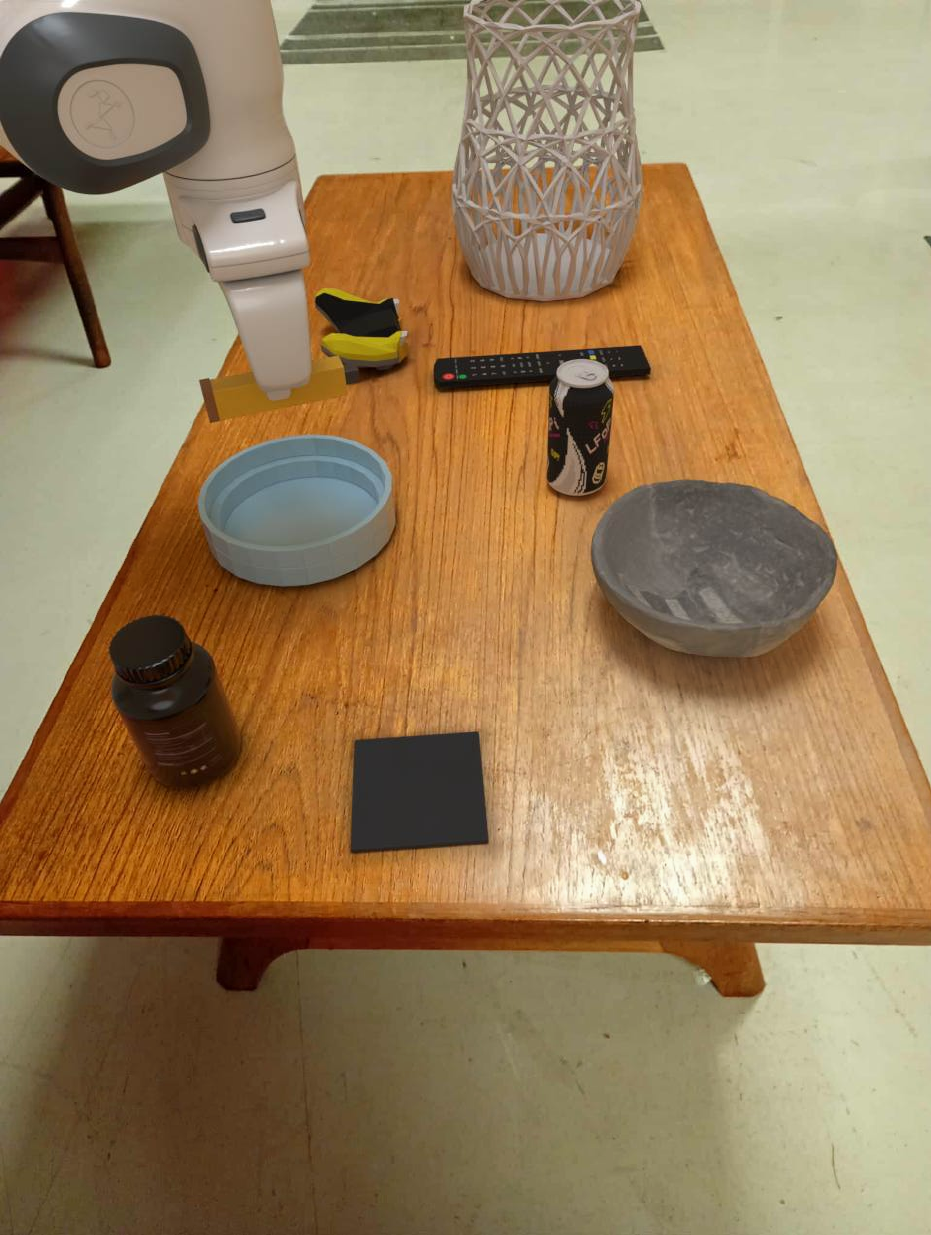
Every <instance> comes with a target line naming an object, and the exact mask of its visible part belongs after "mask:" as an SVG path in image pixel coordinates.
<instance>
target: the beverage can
mask: <svg viewBox="0 0 931 1235" xmlns="http://www.w3.org/2000/svg"><path fill="white" fill-rule="evenodd" d="M608 376H609V371H608V369H607V368H606V366H604V365H603V364H601V363H599V362H597V361H593V360H587V359H577V360H571V361H567V362H565V363H563V364H562V365H560V366H559V367H558V369H557V375H556V376H555V378H554V379H553V380H552V381H550V384H549V388H548V410H547V412H548V415H547V441H546V442H547V444H546V445H547V448H546V474H545V476H546V477H545V478H546V481H547V483H548V485H549V486H550V487H551V488H552V489H554V490H555V491H556V492H559V493H560V494H564V495H566V496H572V497H583V496H586V495H591V494H593V493H596V492H597V491H599V490H601V489H602V488H603V487H604V486H605V484H606V481H607V475H608V464H609V454H610V444H611V431H612V421H613V420H612V419H613V411H614V410H613V408H614V400H615V399H614V398H615V386H614V382H613V381H612V379H610V378H611V377H608Z"/></svg>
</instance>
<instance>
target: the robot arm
mask: <svg viewBox="0 0 931 1235" xmlns="http://www.w3.org/2000/svg"><path fill="white" fill-rule="evenodd" d="M282 58H283V57H282V52H281V45H280V41H279V36H278V30H277V24H276V19H275V14H274V10H273V5H272V1H271V0H0V146H1V147H2V148H3V149H5V151H7V152H8V153H9V154H10V155H12V156H13V157H14V158H16V160H18V161H19V162H20V163H21V164H23V165H24V166H26V167H27V168H28V169H29V170H30V171H32V172H33V173H35V174H36V175H37V176H39V177H40V178H42V179H44V180H45V181H46V182H49V183H51V184H52V185H54V186H56V187H58V188H60V189H63V190H66V191H68V192H71V193H76V194H80V195H88V196H99V195H108V194H113V193H117V192H120V191H122V190H125V189H127V188H131V187H133V186H135V185H137V184H140V183H143V182H145V181H147V180H149V179H152V178H154V177H156V176H158V175H161V174H162V177H163V181H164V185H165V189H166V193H167V197H168V201H169V204H170V208H171V212H172V216H173V221H174V225H175V229H176V233H177V236H178V238H179V240H180V242H182V243H183V244H184V245H185V246H187V247H188V248H190V249H191V250H192V251H193V253H194V254H195V255H196V256H197V257H198V258H199V259H200V261H201V262H202V264H203V266H204V267H205V270H206V272H207V273H208V274H209V276H210V279H211V281H212V282H214V283H217V284H218V286H219V288H220V290H221V292H222V294H223V296H224V298H225V301H226V303H227V305H228V308H229V311H230V313H231V316H232V319H233V322H234V325H235V327H236V330H237V333H238V336H239V339H240V342H241V345H242V348H243V351H244V353H245V356H246V359H247V362H248V364H249V367H250V370H251V372H252V373H253V375H254V378H255V380H256V382H257V385H258V386H259V388H260V389H261V390H262V391H263V392H266V394H267V397H268V398H269V400H272V401H276V400H281V399H286V398H288V397H289V396H290V393H291V392H290V389H291V388H296V387H300V386H304V385H306V384H308V383H309V381H310V378H311V371H312V360H313V359H312V358H313V357H312V346H311V345H312V344H311V333H310V332H311V331H310V320H309V309H308V297H307V290H306V282H305V275H304V271H303V269H307V268H309V267H310V266H311V263H312V259H311V252H310V251H311V250H310V245H309V239H308V235H307V231H306V225H307V216H306V215H307V214H306V209H305V203H304V196H303V191H302V183H301V177H300V176H301V175H300V170H299V169H300V168H299V162H298V157H297V150H296V144H295V140H294V139H293V136H292V133H291V131H290V129H289V126H288V124H287V121H286V117H285V111H284V104H283V103H284V101H283V100H284V88H285V71H284V65H283V64H284V63H283V59H282Z"/></svg>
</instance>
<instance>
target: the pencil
mask: <svg viewBox="0 0 931 1235" xmlns="http://www.w3.org/2000/svg"><path fill="white" fill-rule="evenodd" d="M360 378H361V377H360V370H359V368H357V366H356V364H355V363H352V364H347V365H343V364H342V362H341V360H340V358H339V356H333V357H328V356H327V357H322V358H317V359H312V371H311V378H310V381H309V383H308V384H306V385H304V386H300V387H296V388H291V389H290V392H291V393H290V396H289V397H288V398H286V399H281V400H276V401H272V400H269V398H268V397H267V394H266V392H263V391H262V390H261V389H260V388H259V386H258V385H257V382H256V380H255V378H254V375H253V373H252V371H247V372H243V373H237V374H232V375H227V376H222V377H221V376H220V377H216V378H209V377H207V378H201V379H198V383H199V387H200V391H201V394H202V395H201V396H202V399H203V402H204V406H205V410H206V414H207V416H208V421H209V424H213V423H218V422H220V421H225V420H230V419H234V418H241V417H245V416H251V415H255V414H260V413H265V412H271V411H276V410H280V409H285V408H290V407H291V408H292V407H295V406H301V405H304V404H305V405H306V404H311V403H316V402H322V401H326V400H332V399H336V398H341V397H346V396H348V395H349V392H348V386H349V385H355V384H359V383H361V379H360Z"/></svg>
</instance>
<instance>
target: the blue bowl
mask: <svg viewBox="0 0 931 1235" xmlns="http://www.w3.org/2000/svg"><path fill="white" fill-rule="evenodd" d="M196 504H197V509H198V514H199V519H200V522H201V525H202V528H203V531H204V534H205V538H206V542H207V544H208V548H209V551H210V553H211V554H212V556H213V557H214V559H215V560H216V562H217V563H218V564H219V565H220V566H221V567H222V568H223V569H225V570H227V571H228V572H229V573H231V574H233V575H234V576H235V577H237V578H240V579H243V580H246V581H249V582H251V583H254V584H256V585H257V584H258V585H267V586H274V587H275V586H276V587H299V586H308V585H309V586H310V585H313V584H318V583H323V582H326V581H330V580H334V579H337V578H339V577H341V576H344V575H346V574H348V573H350V572H353V571H355V570H358V569H359V568H360V567H361V566H363V565H364V564H366V563H367V562H369V561H370V560H371V559H373V558H374V557H376V556H377V555H378V554H379V553H380V552H381V551H382V549H384V547H385V546H386V545H387V543H388V542H389V541H390V538H391V536H392V535H393V532H394V529H395V526H396V521H397V520H396V518H397V517H396V516H397V514H396V502H395V492H394V483H393V476H392V473H391V471H390V469H389V466H388V464H387V463H386V460H384V459H383V458H382V456H380V454H378V453H377V452H376V451H375V450H373V449H372V448H370V447H368V446H366V445H364V444H362V443H360V442H359V441H356V440H352V439H349V438H346V437H345V438H344V437H341V436H336V435H326V434H299V435H298V434H297V435H288V436H284V437H278V438H274V439H269V440H266V441H263V442H260V443H257V444H254V445H251V446H249V447H246V448H244V449H242V450H240V451H238V452H237V453H235V454H233V455H231V456H230V457H228V458H226V459H225V460H224V461H223V462H221V463H220V464H219V465H218V466H217V467H215V468H214V469H213V470H212V471H211V472H210V474H209V475H208V476H207V478H206V479H205V481H204V482H203V484H202V485H201V487H200V490H199V494H198V498H197V503H196Z"/></svg>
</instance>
